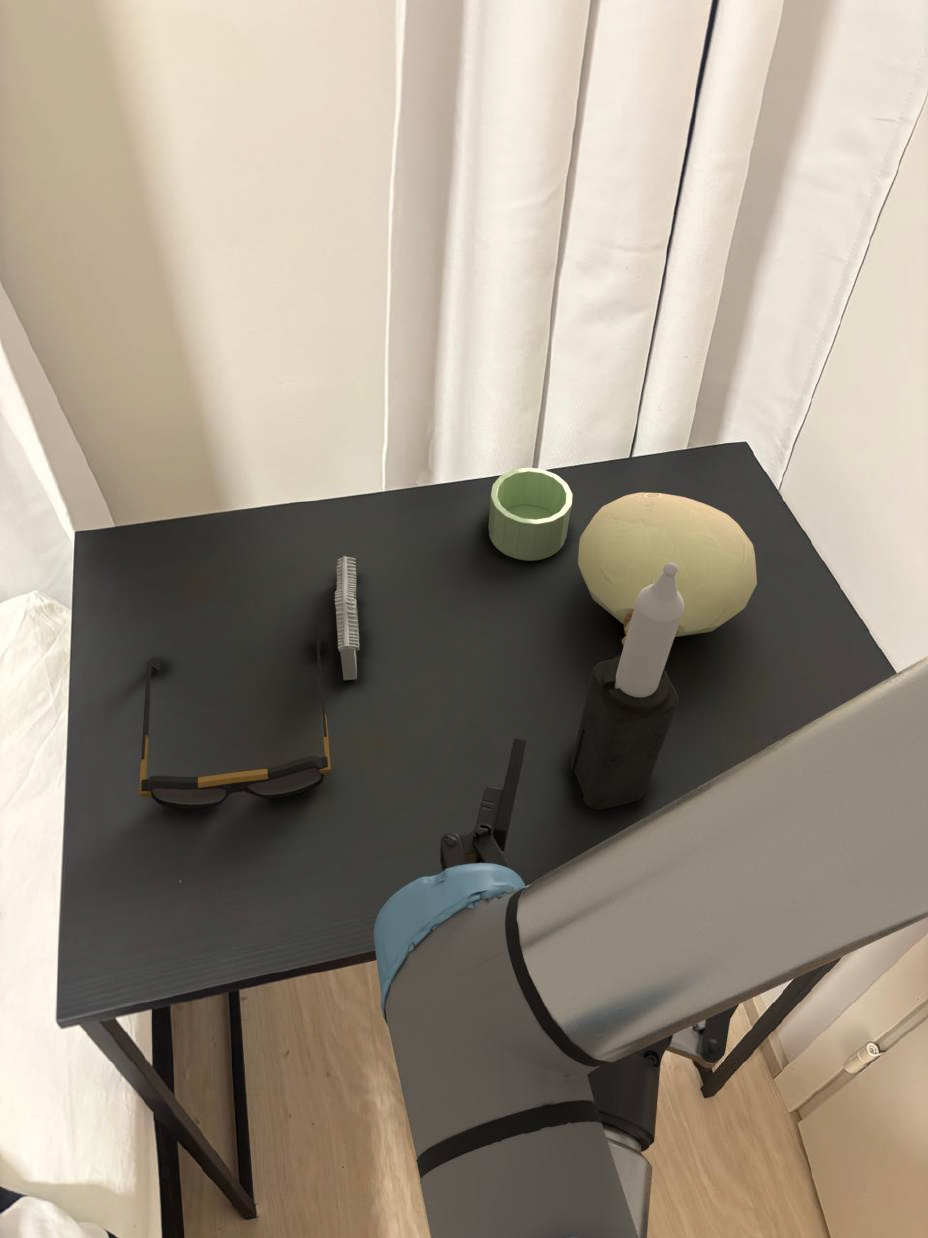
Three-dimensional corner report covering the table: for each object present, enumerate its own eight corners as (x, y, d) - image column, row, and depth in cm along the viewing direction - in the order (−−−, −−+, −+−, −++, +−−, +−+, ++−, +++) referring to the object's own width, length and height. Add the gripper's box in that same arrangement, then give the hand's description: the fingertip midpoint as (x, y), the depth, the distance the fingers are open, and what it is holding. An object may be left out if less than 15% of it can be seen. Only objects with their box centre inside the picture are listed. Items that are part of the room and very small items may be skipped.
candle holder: (578, 523, 91) (585, 485, 88) (544, 571, 87) (550, 534, 83) (511, 495, 94) (514, 457, 90) (474, 541, 89) (476, 503, 86)
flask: (752, 563, 88) (721, 716, 78) (591, 522, 91) (541, 664, 81) (780, 495, 81) (751, 654, 71) (604, 452, 84) (551, 599, 74)
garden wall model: (338, 579, 86) (333, 534, 81) (357, 578, 86) (354, 533, 81) (340, 684, 78) (335, 641, 74) (361, 683, 78) (357, 640, 74)
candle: (566, 758, 74) (615, 541, 55) (624, 744, 75) (693, 526, 56) (588, 813, 71) (649, 604, 52) (649, 798, 72) (731, 587, 53)
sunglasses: (321, 647, 81) (316, 611, 77) (335, 802, 71) (329, 769, 67) (157, 665, 79) (143, 629, 75) (149, 827, 70) (132, 795, 66)
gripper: (340, 1093, 50) (433, 761, 63) (808, 1213, 47) (803, 839, 60) (328, 1056, 44) (433, 700, 58) (861, 1190, 41) (843, 783, 55)
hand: (623, 771), depth 59 cm, fingers open, 13 cm apart
